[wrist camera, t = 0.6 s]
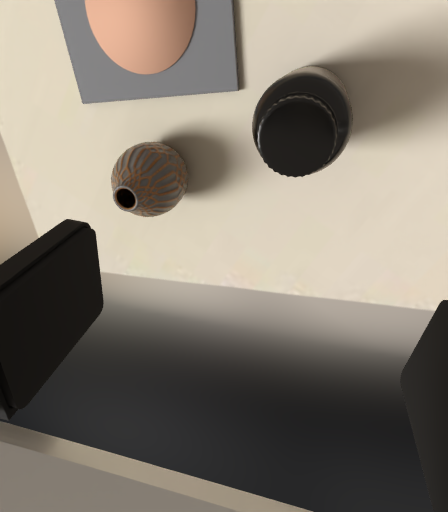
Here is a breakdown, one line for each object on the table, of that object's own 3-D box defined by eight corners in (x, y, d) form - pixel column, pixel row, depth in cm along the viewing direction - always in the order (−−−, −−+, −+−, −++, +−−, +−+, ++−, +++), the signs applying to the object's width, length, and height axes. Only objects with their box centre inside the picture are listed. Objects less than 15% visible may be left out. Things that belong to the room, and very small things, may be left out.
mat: (224, -129, 24) (221, -134, 24) (238, 90, 31) (237, 91, 31) (36, -81, 29) (29, -85, 28) (86, 103, 35) (81, 104, 35)
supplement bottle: (311, 45, 28) (303, 44, 18) (365, 108, 30) (384, 139, 20) (252, 110, 32) (219, 138, 22) (303, 163, 33) (293, 213, 23)
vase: (208, 174, 36) (179, 206, 29) (167, 211, 40) (130, 248, 32) (162, 120, 34) (118, 140, 27) (123, 163, 38) (74, 191, 31)
